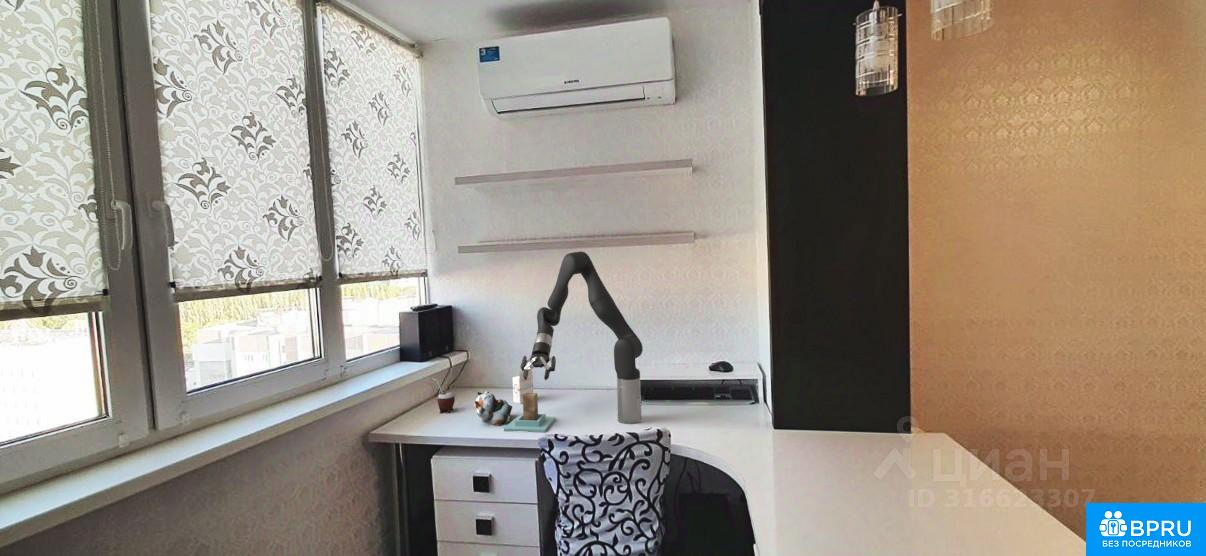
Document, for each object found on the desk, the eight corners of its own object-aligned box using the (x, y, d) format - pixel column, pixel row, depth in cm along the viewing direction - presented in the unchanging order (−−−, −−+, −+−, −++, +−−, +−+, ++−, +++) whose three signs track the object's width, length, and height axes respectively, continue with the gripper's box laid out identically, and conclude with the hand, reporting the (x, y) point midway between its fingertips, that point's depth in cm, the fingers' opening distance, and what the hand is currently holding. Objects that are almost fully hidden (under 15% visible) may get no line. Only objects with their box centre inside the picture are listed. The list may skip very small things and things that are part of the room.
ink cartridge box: (526, 398, 228) (525, 367, 228) (533, 399, 225) (532, 368, 225) (512, 402, 222) (511, 370, 221) (520, 404, 219) (519, 371, 218)
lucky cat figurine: (507, 426, 188) (489, 397, 184) (481, 436, 190) (463, 409, 186) (516, 404, 202) (500, 378, 198) (492, 415, 204) (475, 388, 201)
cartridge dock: (555, 419, 195) (555, 411, 195) (544, 432, 180) (544, 424, 180) (517, 418, 198) (517, 410, 198) (503, 431, 182) (503, 423, 182)
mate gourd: (457, 411, 210) (457, 377, 209) (441, 415, 204) (440, 380, 204) (449, 408, 215) (448, 374, 214) (432, 412, 209) (431, 377, 209)
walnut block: (538, 420, 191) (537, 393, 191) (534, 424, 186) (534, 396, 186) (527, 420, 192) (526, 392, 191) (523, 423, 187) (522, 395, 187)
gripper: (524, 341, 205) (516, 373, 194) (556, 341, 203) (550, 374, 192) (528, 351, 211) (520, 383, 200) (560, 351, 209) (554, 384, 198)
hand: (535, 378), depth 196 cm, fingers open, 8 cm apart
